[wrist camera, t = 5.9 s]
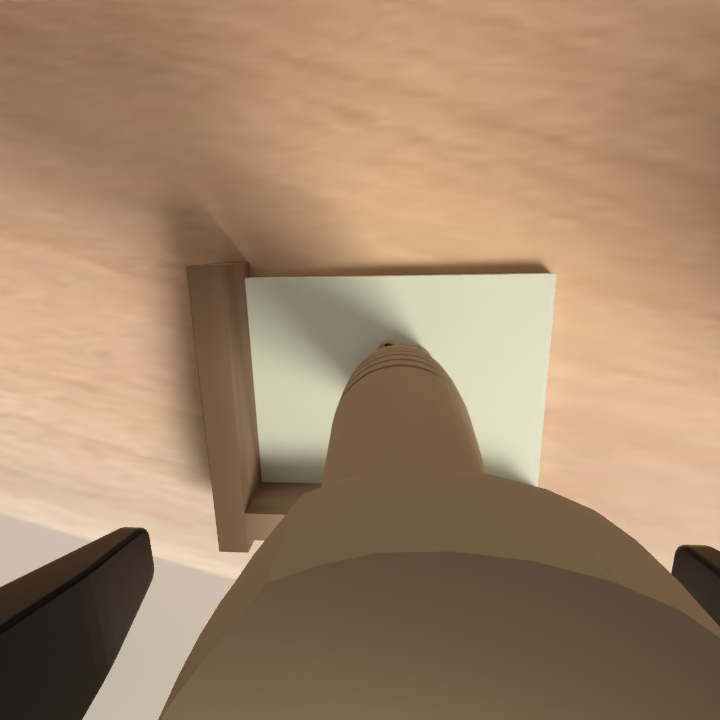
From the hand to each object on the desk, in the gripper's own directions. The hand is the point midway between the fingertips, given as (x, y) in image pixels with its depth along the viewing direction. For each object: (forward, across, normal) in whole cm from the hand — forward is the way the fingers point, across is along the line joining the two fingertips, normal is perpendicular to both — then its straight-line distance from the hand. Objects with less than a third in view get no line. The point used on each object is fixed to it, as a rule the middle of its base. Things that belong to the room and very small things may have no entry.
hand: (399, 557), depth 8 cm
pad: (+12, 0, 0) cm, 12 cm away
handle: (+11, 0, 0) cm, 11 cm away
